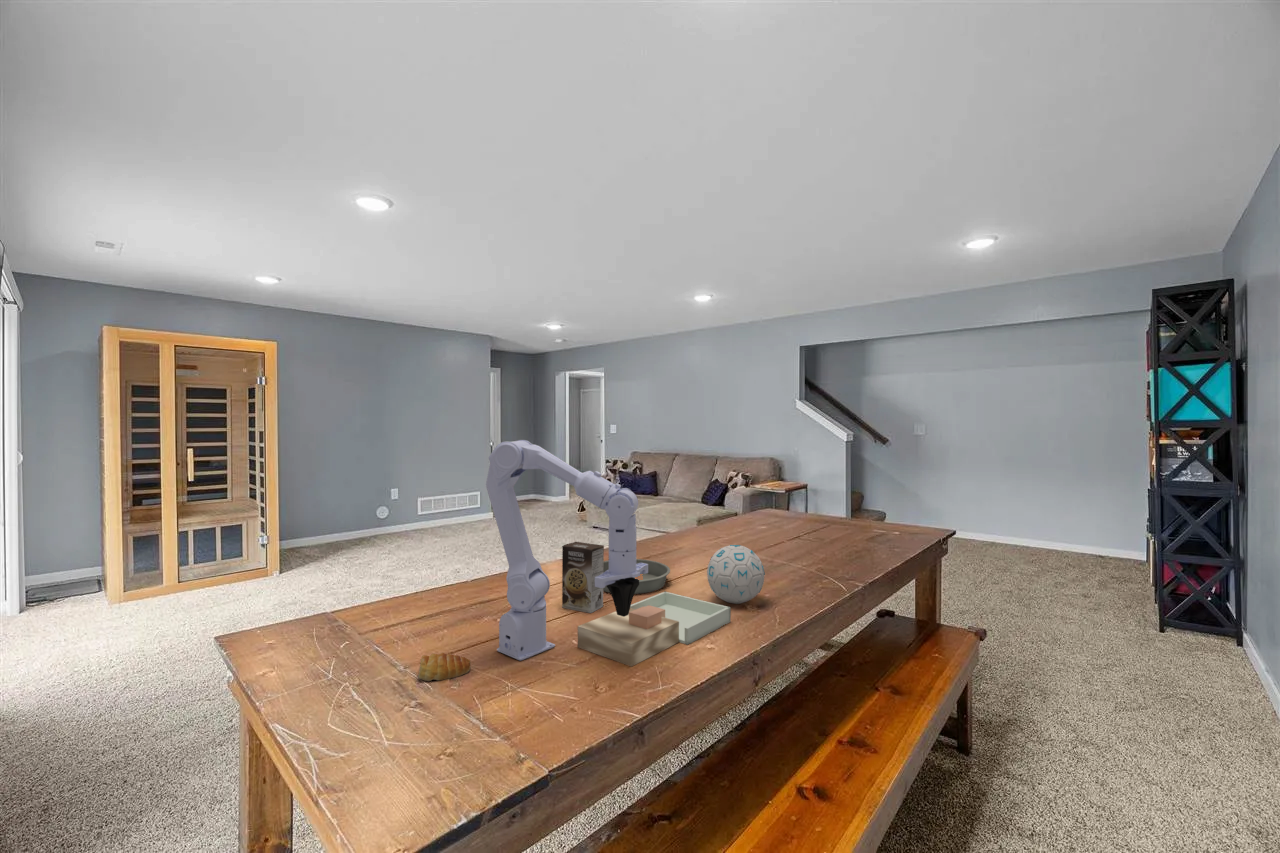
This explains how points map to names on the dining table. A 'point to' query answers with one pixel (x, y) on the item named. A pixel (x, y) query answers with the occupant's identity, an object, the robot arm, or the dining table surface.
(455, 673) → the pastry
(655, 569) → the cake pan
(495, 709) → the dining table surface
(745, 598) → the puzzle ball
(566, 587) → the coffee box
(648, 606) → the tile far
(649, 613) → the tile near
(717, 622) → the tray
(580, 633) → the block
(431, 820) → the dining table surface
